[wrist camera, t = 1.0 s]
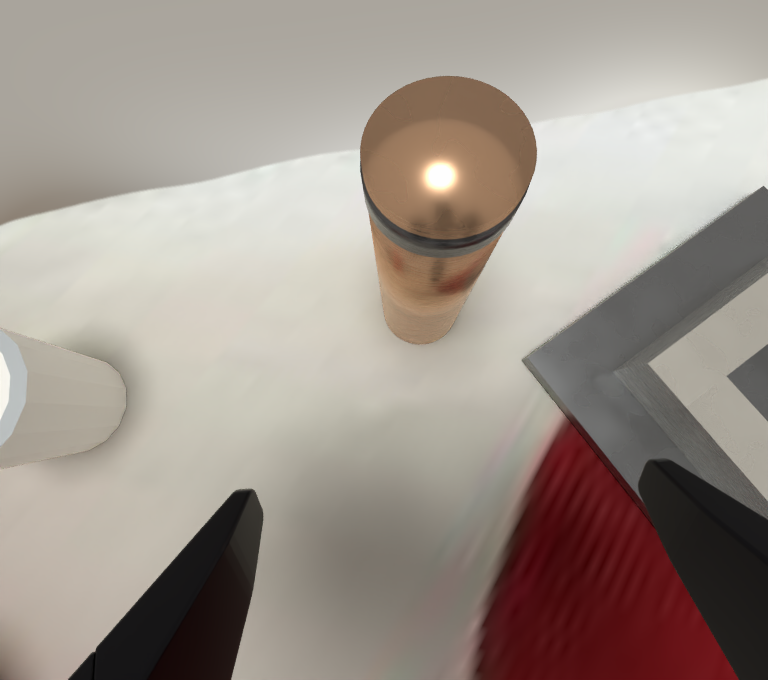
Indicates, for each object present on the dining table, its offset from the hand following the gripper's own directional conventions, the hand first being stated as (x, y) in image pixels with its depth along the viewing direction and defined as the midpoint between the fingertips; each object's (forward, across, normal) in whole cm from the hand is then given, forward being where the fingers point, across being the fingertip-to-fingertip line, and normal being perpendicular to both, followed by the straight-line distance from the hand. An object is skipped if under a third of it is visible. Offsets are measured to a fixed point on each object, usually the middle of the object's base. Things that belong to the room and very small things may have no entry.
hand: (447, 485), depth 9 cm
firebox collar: (+10, -19, +8) cm, 23 cm away
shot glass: (+12, +20, +6) cm, 24 cm away
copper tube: (+15, -1, +3) cm, 15 cm away
